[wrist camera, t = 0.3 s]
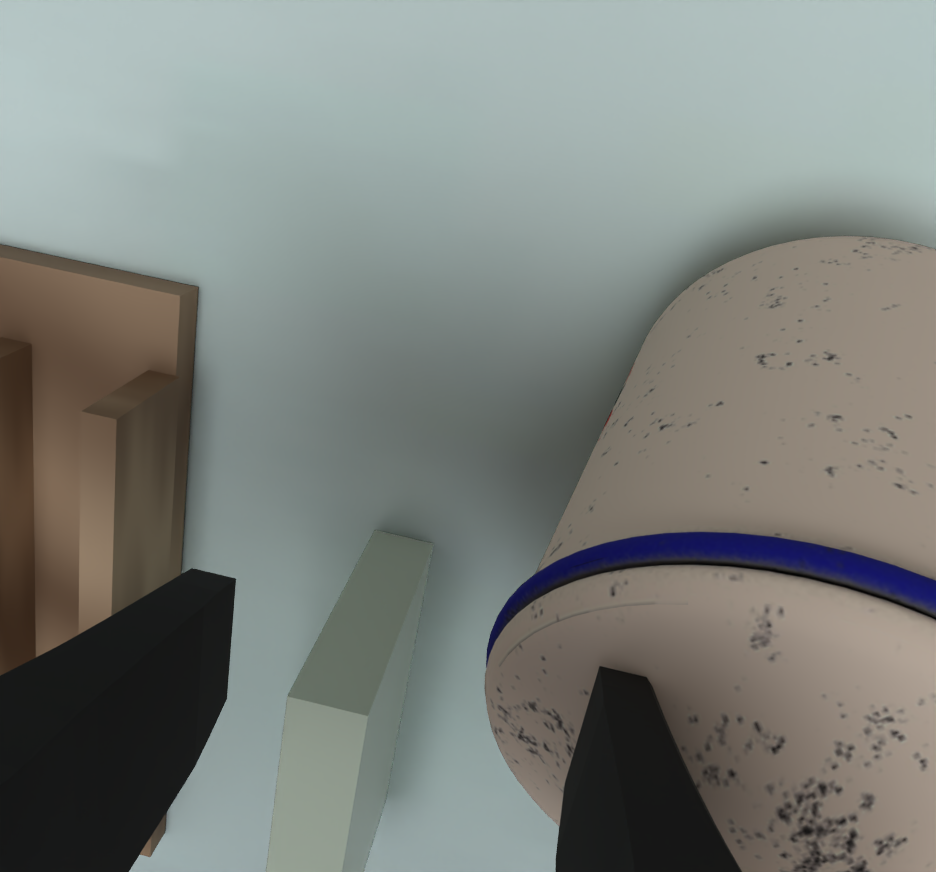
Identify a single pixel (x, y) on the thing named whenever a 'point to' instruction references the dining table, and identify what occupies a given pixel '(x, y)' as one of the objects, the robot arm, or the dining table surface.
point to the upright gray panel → (349, 714)
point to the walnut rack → (88, 446)
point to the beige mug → (758, 561)
